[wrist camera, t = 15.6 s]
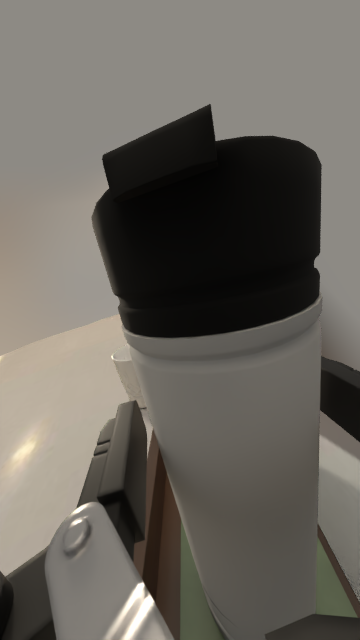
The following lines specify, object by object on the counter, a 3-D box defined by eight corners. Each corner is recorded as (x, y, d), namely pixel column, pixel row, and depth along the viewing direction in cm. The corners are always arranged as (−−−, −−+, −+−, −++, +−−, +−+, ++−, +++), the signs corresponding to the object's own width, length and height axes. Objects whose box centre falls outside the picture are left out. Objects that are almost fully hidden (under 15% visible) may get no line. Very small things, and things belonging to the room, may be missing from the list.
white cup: (167, 378, 39) (156, 336, 36) (169, 404, 32) (155, 353, 29) (131, 387, 39) (117, 345, 36) (124, 416, 31) (106, 365, 28)
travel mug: (191, 656, 9) (-8, 195, 3) (207, 494, 15) (146, 233, 9) (348, 729, 7) (502, -65, 1) (293, 510, 13) (282, 195, 7)
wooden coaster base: (259, 432, 23) (255, 387, 21) (606, 1181, 4) (853, 1390, 2) (169, 445, 24) (157, 403, 22) (120, 1119, 5) (3, 1234, 3)
